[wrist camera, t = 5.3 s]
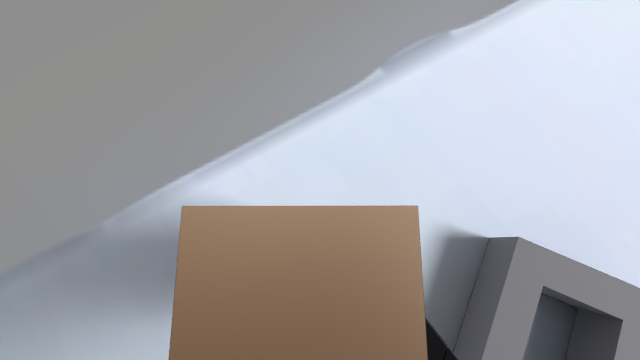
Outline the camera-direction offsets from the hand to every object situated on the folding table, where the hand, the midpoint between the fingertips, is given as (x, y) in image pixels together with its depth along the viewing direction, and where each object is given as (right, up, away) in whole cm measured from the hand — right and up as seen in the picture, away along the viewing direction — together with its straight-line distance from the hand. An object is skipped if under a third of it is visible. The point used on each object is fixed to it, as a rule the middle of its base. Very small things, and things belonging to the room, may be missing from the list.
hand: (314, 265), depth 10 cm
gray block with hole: (+13, -8, +10) cm, 18 cm away
